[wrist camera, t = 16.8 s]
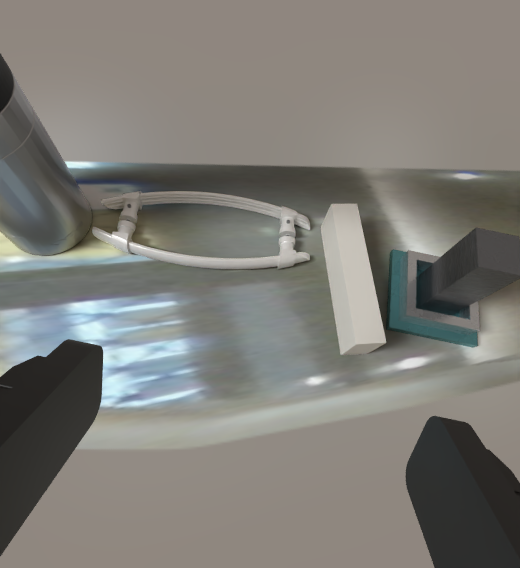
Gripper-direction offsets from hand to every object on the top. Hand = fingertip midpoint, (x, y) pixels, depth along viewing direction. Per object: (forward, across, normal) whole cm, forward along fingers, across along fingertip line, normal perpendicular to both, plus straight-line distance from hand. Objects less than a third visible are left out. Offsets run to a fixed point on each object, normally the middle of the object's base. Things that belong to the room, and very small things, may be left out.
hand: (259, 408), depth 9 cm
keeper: (+33, -20, +7) cm, 39 cm away
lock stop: (+33, -20, +7) cm, 39 cm away
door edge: (+33, -9, +8) cm, 35 cm away
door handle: (+35, +8, +6) cm, 37 cm away
